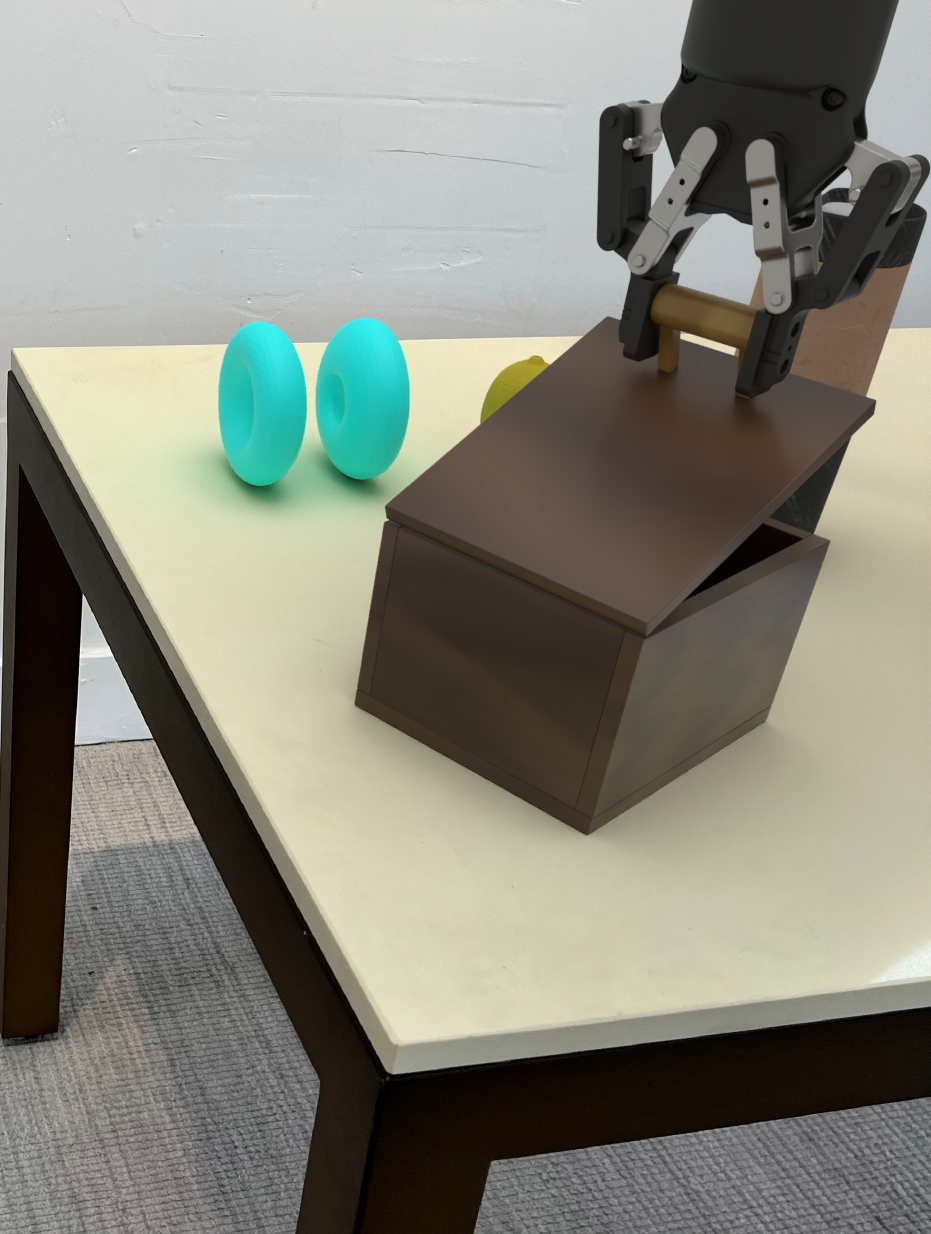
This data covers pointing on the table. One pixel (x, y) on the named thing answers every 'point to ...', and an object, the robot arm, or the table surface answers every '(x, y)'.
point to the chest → (578, 669)
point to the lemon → (511, 383)
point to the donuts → (345, 401)
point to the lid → (631, 464)
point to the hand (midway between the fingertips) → (695, 372)
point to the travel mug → (845, 340)
